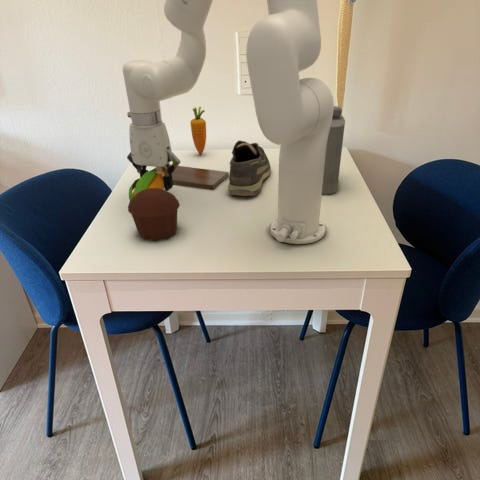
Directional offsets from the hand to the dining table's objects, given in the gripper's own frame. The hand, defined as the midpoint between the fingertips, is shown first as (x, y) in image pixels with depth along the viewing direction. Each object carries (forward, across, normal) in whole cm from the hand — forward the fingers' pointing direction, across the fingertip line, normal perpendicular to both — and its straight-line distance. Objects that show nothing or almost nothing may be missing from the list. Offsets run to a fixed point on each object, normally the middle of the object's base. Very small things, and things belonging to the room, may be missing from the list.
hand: (157, 187), depth 121 cm
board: (+2, +2, +13) cm, 13 cm away
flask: (+3, +42, +21) cm, 47 cm away
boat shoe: (+2, +20, +18) cm, 27 cm away
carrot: (+2, -3, +33) cm, 33 cm away
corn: (+2, +1, -5) cm, 5 cm away
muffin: (+2, +12, -20) cm, 23 cm away
